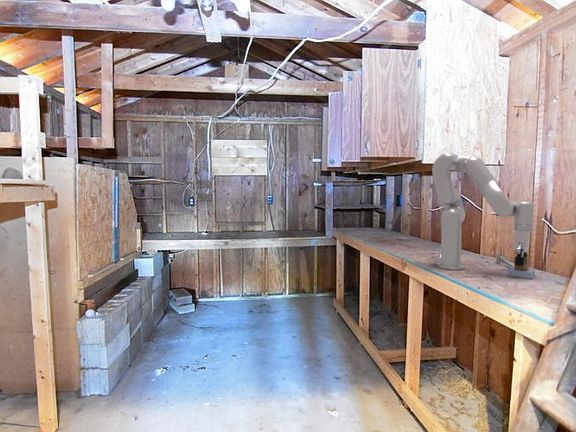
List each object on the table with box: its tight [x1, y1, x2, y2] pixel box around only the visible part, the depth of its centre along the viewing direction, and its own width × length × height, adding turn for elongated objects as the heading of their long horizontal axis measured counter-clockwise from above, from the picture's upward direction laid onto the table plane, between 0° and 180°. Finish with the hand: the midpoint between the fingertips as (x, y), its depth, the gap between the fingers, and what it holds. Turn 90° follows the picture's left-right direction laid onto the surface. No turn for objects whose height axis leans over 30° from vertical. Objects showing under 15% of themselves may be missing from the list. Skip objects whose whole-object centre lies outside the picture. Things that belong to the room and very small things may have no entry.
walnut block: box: [513, 256, 530, 271], centre depth 164 cm, size 5×5×6 cm
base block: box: [507, 267, 536, 280], centre depth 165 cm, size 9×9×3 cm
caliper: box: [495, 252, 514, 268], centre depth 184 cm, size 20×1×6 cm, turn 178°
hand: (521, 263), depth 165 cm, fingers open, 9 cm apart
